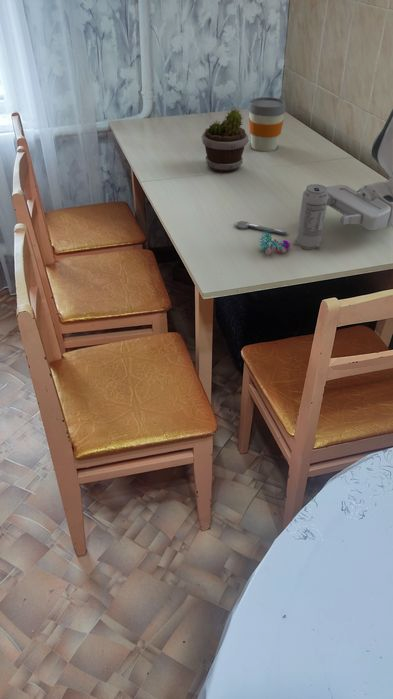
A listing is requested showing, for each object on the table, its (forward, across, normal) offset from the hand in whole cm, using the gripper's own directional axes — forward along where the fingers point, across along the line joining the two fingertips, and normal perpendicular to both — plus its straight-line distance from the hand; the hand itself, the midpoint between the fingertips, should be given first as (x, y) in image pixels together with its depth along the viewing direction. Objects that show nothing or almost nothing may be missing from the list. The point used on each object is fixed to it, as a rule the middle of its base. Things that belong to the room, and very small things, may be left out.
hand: (329, 212), depth 136 cm
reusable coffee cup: (-25, -65, +8) cm, 70 cm away
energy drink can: (+6, 0, +8) cm, 10 cm away
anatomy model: (+16, 0, +8) cm, 18 cm away
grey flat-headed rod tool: (+12, -12, +8) cm, 19 cm away
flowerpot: (-2, -55, +8) cm, 56 cm away
